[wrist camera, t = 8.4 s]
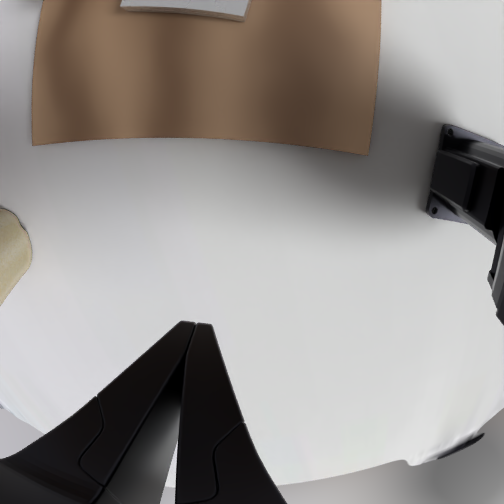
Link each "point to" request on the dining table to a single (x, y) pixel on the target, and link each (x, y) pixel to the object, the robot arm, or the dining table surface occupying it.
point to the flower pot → (12, 252)
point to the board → (208, 73)
